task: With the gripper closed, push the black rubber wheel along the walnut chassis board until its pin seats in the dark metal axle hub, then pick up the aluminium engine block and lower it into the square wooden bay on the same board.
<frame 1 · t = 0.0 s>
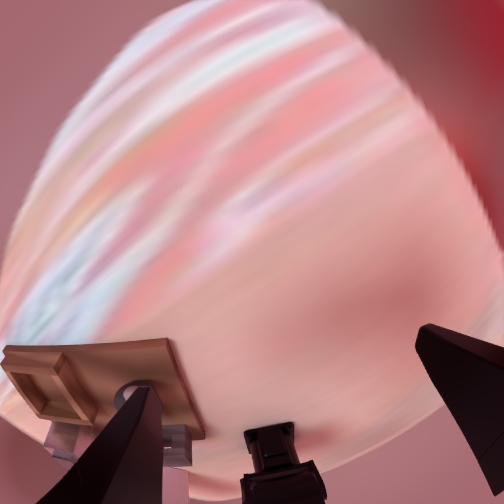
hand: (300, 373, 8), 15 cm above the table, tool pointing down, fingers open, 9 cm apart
block: (78, 426, 25), point 1 cm above the table, touching chassis
chassis: (100, 397, 25), on the table
wheel: (143, 411, 22), point 4 cm above the table, slide at 5.0 cm
milk: (164, 471, 33), on the table
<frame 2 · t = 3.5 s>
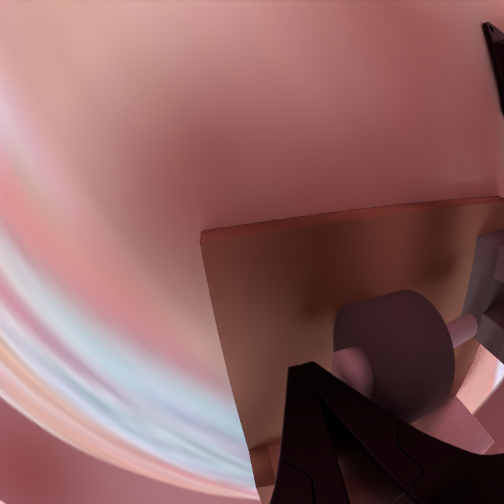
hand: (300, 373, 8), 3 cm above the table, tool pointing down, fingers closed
block: (421, 425, 15), point 1 cm above the table, touching chassis
chassis: (377, 392, 14), on the table
wheel: (417, 351, 8), point 4 cm above the table, slide at 4.8 cm, touching gripper
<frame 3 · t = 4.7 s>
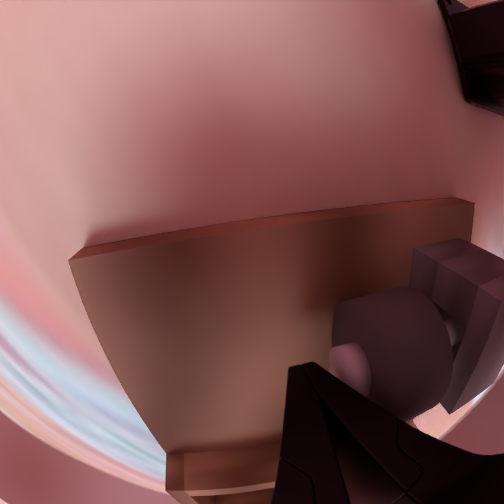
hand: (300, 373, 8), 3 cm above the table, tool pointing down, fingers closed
chassis: (306, 412, 13), on the table
wheel: (416, 348, 8), point 4 cm above the table, slide at 0.4 cm, touching gripper
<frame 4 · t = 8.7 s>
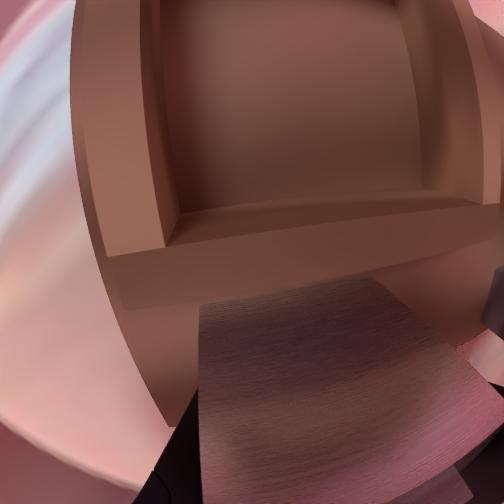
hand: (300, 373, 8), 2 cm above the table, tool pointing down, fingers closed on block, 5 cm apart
block: (292, 356, 8), point 1 cm above the table, touching chassis, gripper
chassis: (428, 181, 8), on the table
when the fingers open (4 cm above the table, at t = 12.1 s): block drops 2 cm, resting on chassis.
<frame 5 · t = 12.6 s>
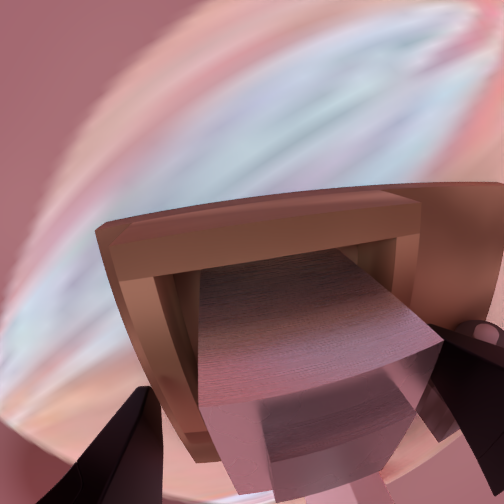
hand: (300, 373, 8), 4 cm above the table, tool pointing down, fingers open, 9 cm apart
block: (275, 316, 11), point 1 cm above the table, touching chassis
chassis: (363, 337, 14), on the table
wheel: (471, 368, 12), point 4 cm above the table, slide at 0.4 cm
milk: (337, 473, 21), on the table
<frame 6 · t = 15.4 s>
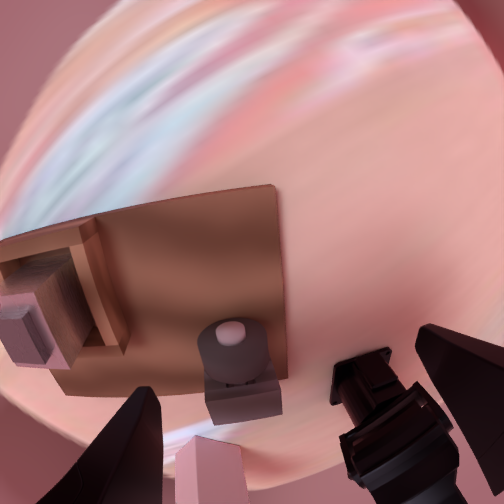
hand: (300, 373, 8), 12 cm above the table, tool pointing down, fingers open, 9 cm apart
block: (61, 288, 16), point 1 cm above the table, touching chassis
chassis: (136, 314, 19), on the table
wheel: (236, 363, 18), point 4 cm above the table, slide at 0.4 cm
milk: (206, 449, 27), on the table
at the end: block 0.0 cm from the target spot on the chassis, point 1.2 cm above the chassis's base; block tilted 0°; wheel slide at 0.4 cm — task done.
